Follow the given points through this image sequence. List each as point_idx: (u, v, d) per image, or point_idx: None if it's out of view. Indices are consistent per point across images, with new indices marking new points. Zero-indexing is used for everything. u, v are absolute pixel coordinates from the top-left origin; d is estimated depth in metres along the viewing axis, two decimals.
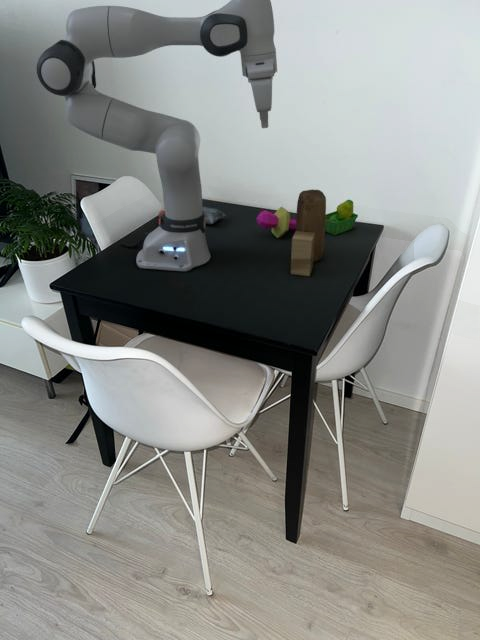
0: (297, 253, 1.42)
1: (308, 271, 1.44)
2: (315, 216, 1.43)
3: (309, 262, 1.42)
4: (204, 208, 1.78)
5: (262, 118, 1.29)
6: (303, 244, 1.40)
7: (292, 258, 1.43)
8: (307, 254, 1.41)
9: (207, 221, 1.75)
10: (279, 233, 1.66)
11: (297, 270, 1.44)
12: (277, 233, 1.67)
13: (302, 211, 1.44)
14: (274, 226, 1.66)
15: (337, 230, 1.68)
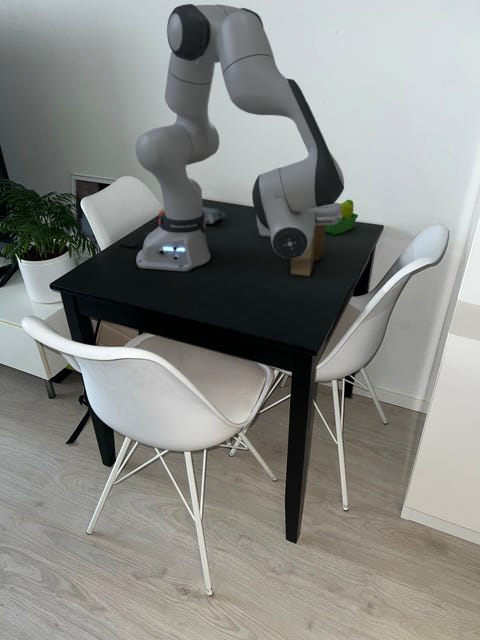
0: None
1: (308, 271, 1.44)
2: None
3: (309, 262, 1.42)
4: (204, 208, 1.78)
5: None
6: None
7: (292, 258, 1.43)
8: (307, 254, 1.41)
9: (207, 221, 1.75)
10: None
11: (297, 270, 1.44)
12: None
13: None
14: None
15: (337, 230, 1.68)
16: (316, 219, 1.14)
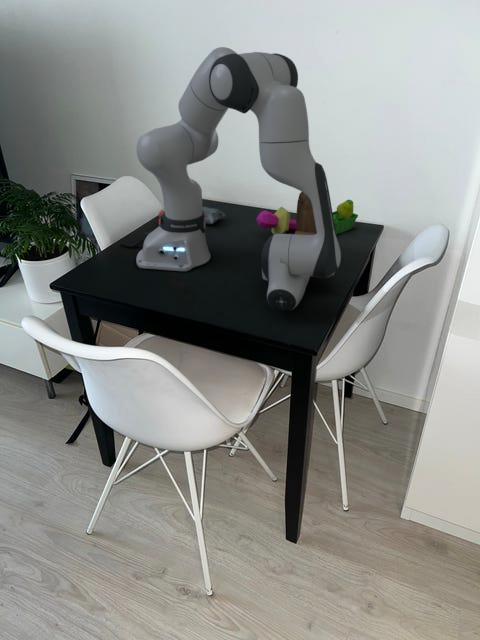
0: None
1: None
2: None
3: None
4: (204, 208, 1.78)
5: None
6: None
7: None
8: None
9: (207, 221, 1.75)
10: (279, 233, 1.66)
11: None
12: (277, 233, 1.67)
13: (302, 211, 1.44)
14: (274, 226, 1.66)
15: (337, 230, 1.68)
16: None
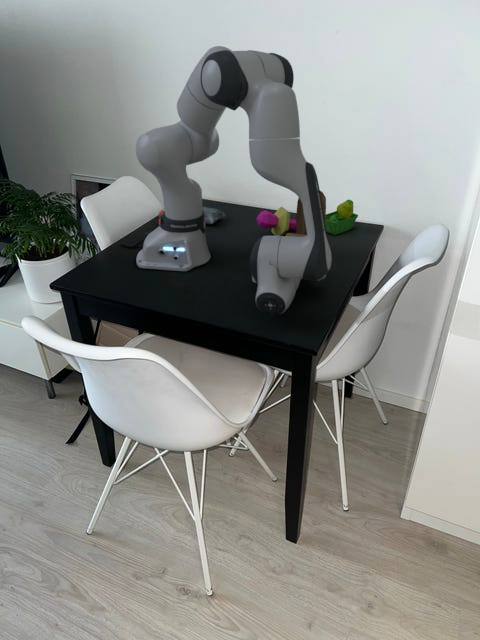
0: None
1: None
2: None
3: None
4: (204, 208, 1.78)
5: None
6: None
7: None
8: None
9: (207, 221, 1.75)
10: (279, 233, 1.66)
11: None
12: (277, 233, 1.67)
13: (302, 211, 1.44)
14: (274, 226, 1.66)
15: (337, 230, 1.68)
16: None
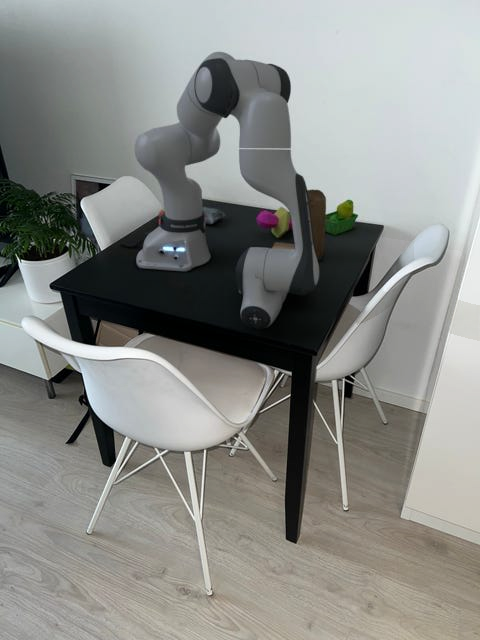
0: None
1: None
2: (315, 216, 1.43)
3: None
4: (204, 208, 1.78)
5: None
6: None
7: None
8: None
9: (207, 221, 1.75)
10: (279, 233, 1.66)
11: None
12: (277, 233, 1.67)
13: None
14: (274, 226, 1.66)
15: (337, 230, 1.68)
16: None
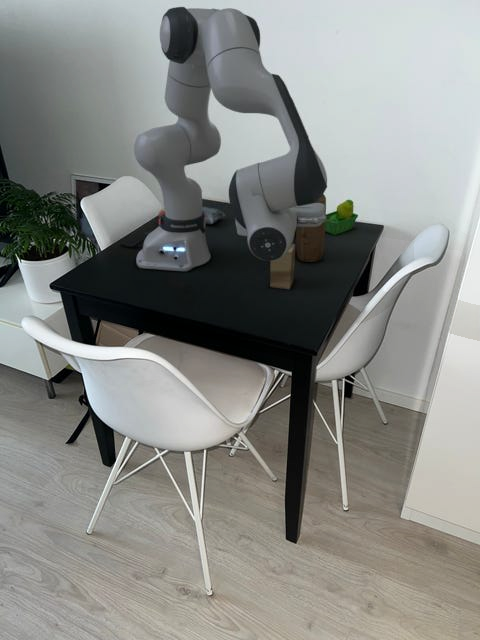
0: (276, 266, 1.35)
1: (288, 284, 1.37)
2: None
3: (289, 275, 1.36)
4: (204, 208, 1.78)
5: None
6: (282, 256, 1.33)
7: (271, 270, 1.36)
8: (287, 266, 1.35)
9: (207, 221, 1.75)
10: None
11: (277, 283, 1.38)
12: None
13: None
14: None
15: (337, 230, 1.68)
16: (298, 220, 1.07)
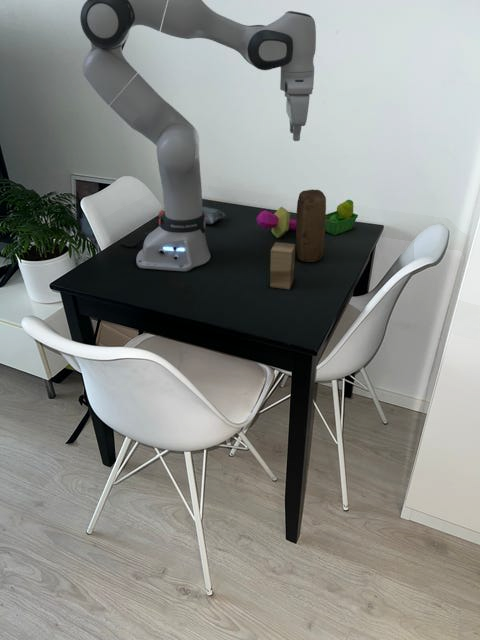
0: (277, 266, 1.35)
1: (288, 284, 1.37)
2: (315, 216, 1.43)
3: (289, 275, 1.36)
4: (204, 208, 1.78)
5: (295, 131, 1.36)
6: (282, 256, 1.33)
7: (271, 270, 1.36)
8: (287, 266, 1.35)
9: (207, 221, 1.75)
10: (279, 233, 1.66)
11: (277, 283, 1.38)
12: (277, 233, 1.67)
13: (302, 211, 1.44)
14: (274, 226, 1.66)
15: (337, 230, 1.68)
16: None
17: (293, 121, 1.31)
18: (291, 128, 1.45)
